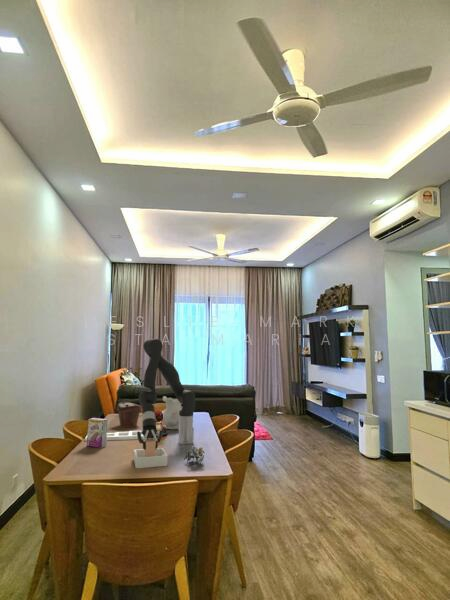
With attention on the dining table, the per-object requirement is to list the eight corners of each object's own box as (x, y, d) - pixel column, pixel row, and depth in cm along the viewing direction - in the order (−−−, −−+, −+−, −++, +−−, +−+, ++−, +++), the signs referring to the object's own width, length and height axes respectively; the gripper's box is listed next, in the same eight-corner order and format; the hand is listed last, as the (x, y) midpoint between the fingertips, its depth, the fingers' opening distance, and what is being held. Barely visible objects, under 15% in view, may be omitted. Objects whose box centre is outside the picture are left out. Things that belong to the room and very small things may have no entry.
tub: (153, 454, 200) (154, 439, 201) (155, 457, 195) (155, 441, 196) (144, 455, 198) (145, 439, 199) (145, 457, 193) (146, 442, 194)
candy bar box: (86, 446, 226) (87, 419, 228) (91, 444, 230) (93, 417, 232) (101, 448, 222) (102, 420, 224) (106, 446, 227) (108, 419, 229)
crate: (162, 457, 206) (163, 447, 207) (167, 465, 191) (167, 455, 192) (133, 459, 201) (133, 449, 202) (135, 468, 186) (136, 458, 187)
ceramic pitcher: (175, 425, 297) (174, 393, 301) (193, 426, 286) (192, 393, 290) (155, 430, 279) (155, 396, 284) (174, 431, 268) (173, 396, 273)
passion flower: (200, 475, 192) (203, 460, 187) (180, 471, 193) (182, 455, 187) (204, 458, 203) (207, 442, 197) (185, 453, 203) (187, 438, 197)
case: (138, 428, 279) (139, 403, 281) (112, 427, 279) (113, 403, 282) (144, 423, 296) (145, 401, 299) (119, 423, 297) (120, 400, 299)
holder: (85, 441, 239) (85, 437, 239) (89, 435, 256) (89, 431, 257) (155, 439, 247) (155, 435, 248) (154, 433, 265) (155, 429, 265)
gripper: (136, 418, 204) (137, 446, 191) (162, 417, 208) (164, 444, 195) (135, 425, 208) (136, 453, 195) (160, 424, 212) (163, 452, 200)
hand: (150, 449), depth 195 cm, fingers closed on tub, 5 cm apart
